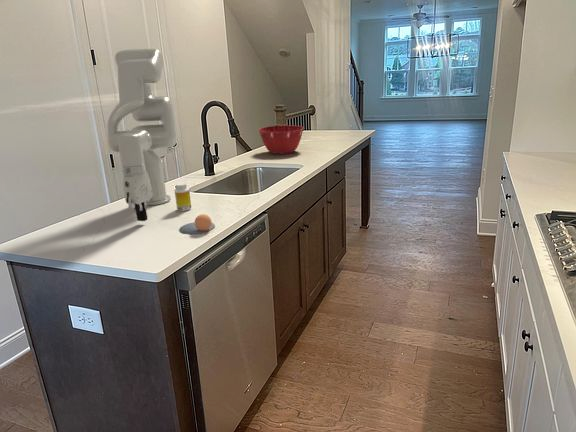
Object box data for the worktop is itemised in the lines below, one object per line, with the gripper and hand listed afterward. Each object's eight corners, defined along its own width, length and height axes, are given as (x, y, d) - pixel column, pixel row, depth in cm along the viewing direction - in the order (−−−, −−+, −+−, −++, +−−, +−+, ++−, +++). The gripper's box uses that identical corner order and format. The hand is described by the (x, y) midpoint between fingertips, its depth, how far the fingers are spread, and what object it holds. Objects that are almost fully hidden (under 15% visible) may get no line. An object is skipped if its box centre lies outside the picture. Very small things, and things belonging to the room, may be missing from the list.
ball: (217, 222, 146) (210, 233, 149) (209, 210, 149) (202, 222, 151) (203, 222, 142) (196, 235, 145) (195, 211, 144) (189, 223, 147)
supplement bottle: (193, 209, 171) (190, 184, 168) (179, 212, 169) (175, 186, 165) (189, 206, 176) (185, 181, 173) (175, 209, 173) (171, 183, 170)
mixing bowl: (313, 152, 276) (312, 127, 271) (273, 158, 262) (271, 132, 258) (290, 147, 299) (289, 124, 294) (252, 152, 286) (250, 128, 281)
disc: (183, 223, 156) (183, 222, 156) (217, 221, 156) (216, 220, 156) (175, 235, 145) (175, 234, 145) (212, 233, 145) (212, 232, 145)
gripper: (129, 175, 143) (138, 227, 149) (156, 165, 157) (163, 214, 162) (110, 174, 146) (120, 226, 151) (138, 165, 159) (146, 213, 165)
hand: (142, 220), depth 157 cm, fingers closed
